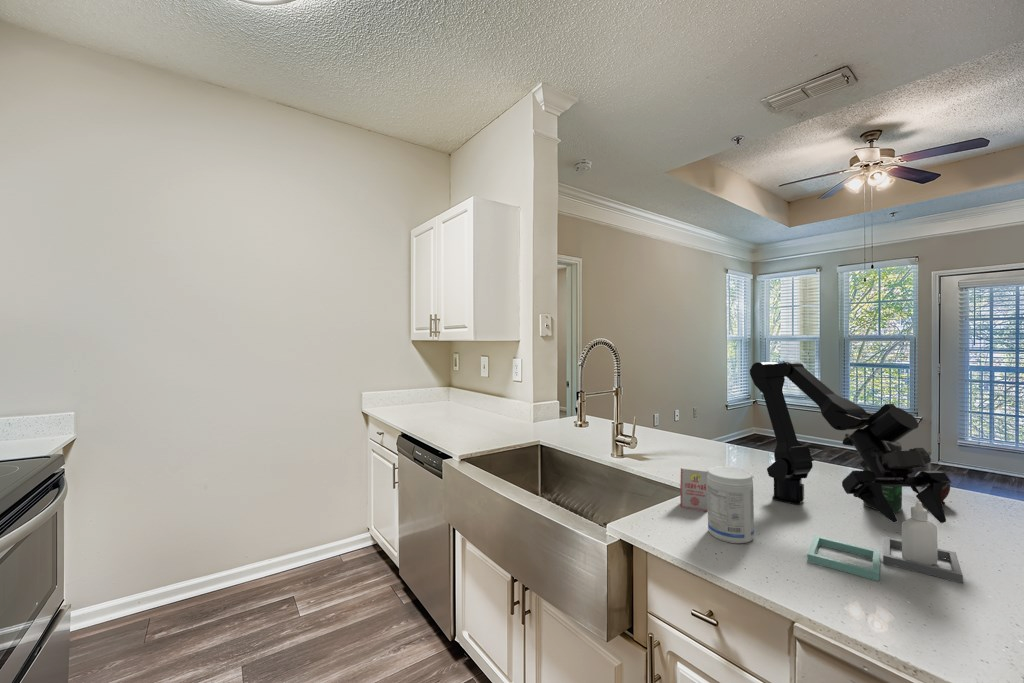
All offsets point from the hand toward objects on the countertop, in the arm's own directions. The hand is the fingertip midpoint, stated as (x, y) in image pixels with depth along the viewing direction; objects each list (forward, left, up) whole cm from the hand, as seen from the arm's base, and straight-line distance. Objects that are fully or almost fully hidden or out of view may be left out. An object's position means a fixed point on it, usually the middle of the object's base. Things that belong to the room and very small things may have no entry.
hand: (919, 522), depth 86 cm
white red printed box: (-44, 0, -8) cm, 45 cm away
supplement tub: (-32, -12, -8) cm, 35 cm away
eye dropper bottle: (0, 0, -8) cm, 8 cm away
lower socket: (-12, -9, -8) cm, 17 cm away
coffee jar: (-6, +32, -8) cm, 34 cm away
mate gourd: (+4, +43, -8) cm, 44 cm away
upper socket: (0, 0, -8) cm, 8 cm away
